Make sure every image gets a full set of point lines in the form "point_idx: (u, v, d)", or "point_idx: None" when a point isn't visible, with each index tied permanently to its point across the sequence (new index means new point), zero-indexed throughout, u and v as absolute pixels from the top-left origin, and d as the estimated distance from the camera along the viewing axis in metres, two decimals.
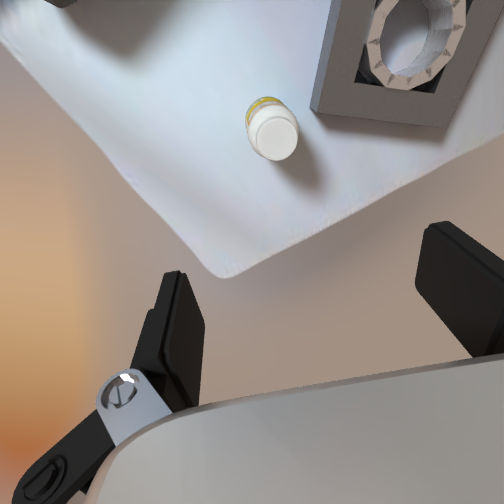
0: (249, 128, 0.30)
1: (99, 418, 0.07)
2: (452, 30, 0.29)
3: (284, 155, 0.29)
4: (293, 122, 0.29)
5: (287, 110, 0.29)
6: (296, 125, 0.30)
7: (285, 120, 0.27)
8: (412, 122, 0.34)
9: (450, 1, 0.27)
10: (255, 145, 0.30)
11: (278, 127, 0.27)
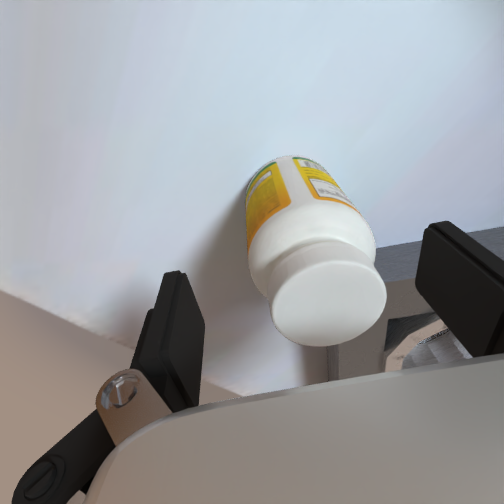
0: (314, 205, 0.11)
1: (99, 418, 0.07)
2: None
3: (293, 333, 0.10)
4: None
5: None
6: None
7: (382, 309, 0.10)
8: None
9: None
10: (279, 237, 0.11)
11: (364, 301, 0.10)
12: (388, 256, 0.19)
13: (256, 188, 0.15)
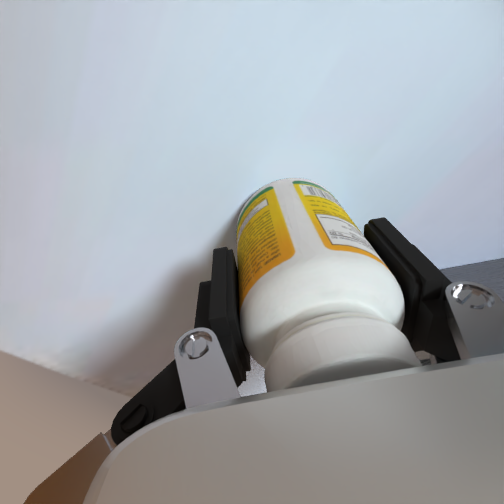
0: (326, 259, 0.08)
1: (175, 370, 0.08)
2: None
3: None
4: None
5: None
6: None
7: None
8: None
9: None
10: (280, 303, 0.08)
11: None
12: None
13: (249, 221, 0.12)
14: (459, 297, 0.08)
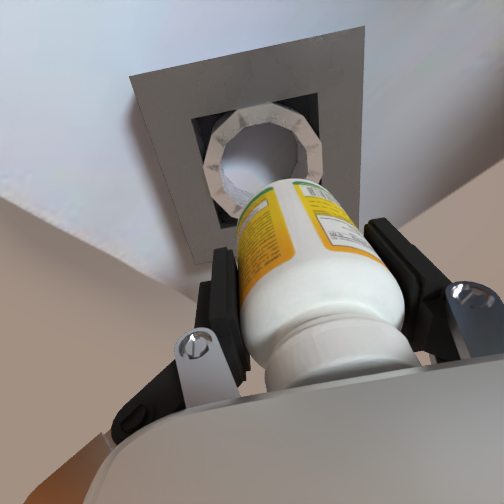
0: (326, 260, 0.08)
1: (175, 370, 0.08)
2: None
3: None
4: None
5: None
6: None
7: None
8: (183, 224, 0.26)
9: None
10: (281, 304, 0.08)
11: None
12: None
13: (249, 221, 0.12)
14: (459, 297, 0.08)
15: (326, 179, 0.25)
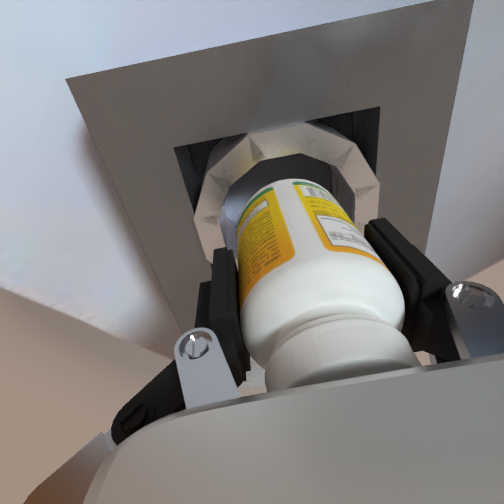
0: (326, 261, 0.08)
1: (175, 370, 0.08)
2: None
3: None
4: None
5: None
6: None
7: None
8: (167, 292, 0.18)
9: None
10: (281, 304, 0.08)
11: None
12: None
13: (249, 222, 0.12)
14: (459, 297, 0.08)
15: None
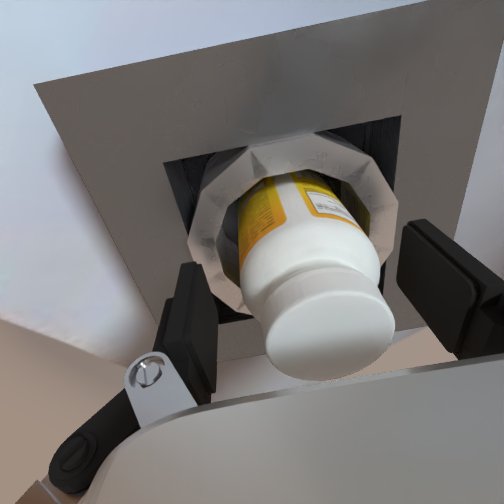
0: (312, 224, 0.10)
1: (126, 398, 0.08)
2: None
3: (290, 368, 0.09)
4: None
5: None
6: None
7: (389, 341, 0.09)
8: (158, 320, 0.16)
9: None
10: (274, 260, 0.10)
11: (370, 333, 0.09)
12: None
13: (248, 200, 0.14)
14: None
15: (395, 254, 0.15)
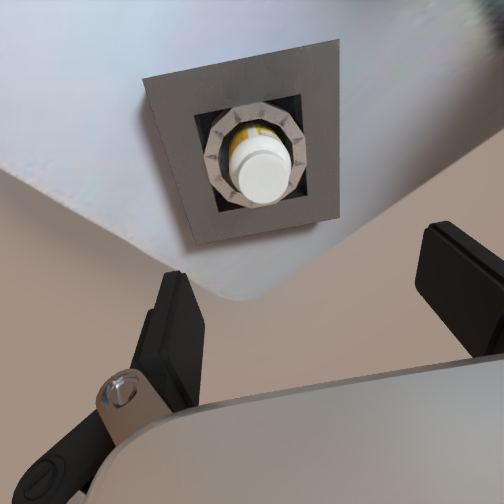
0: (258, 137, 0.23)
1: (99, 418, 0.07)
2: None
3: (249, 194, 0.23)
4: None
5: (289, 175, 0.25)
6: None
7: (287, 181, 0.23)
8: (186, 207, 0.30)
9: None
10: (242, 152, 0.23)
11: (278, 175, 0.22)
12: None
13: (234, 138, 0.27)
14: None
15: (310, 169, 0.28)
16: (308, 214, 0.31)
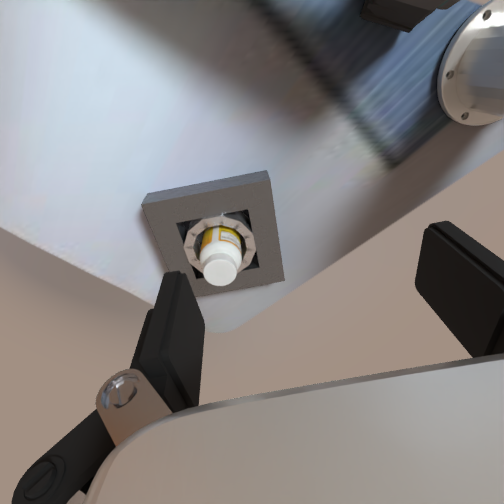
0: (217, 242, 0.35)
1: (99, 418, 0.07)
2: None
3: (211, 281, 0.35)
4: None
5: (240, 263, 0.37)
6: None
7: (236, 273, 0.35)
8: None
9: (243, 258, 0.40)
10: (207, 252, 0.35)
11: (229, 270, 0.34)
12: (176, 190, 0.37)
13: (205, 232, 0.39)
14: None
15: (259, 251, 0.41)
16: (261, 279, 0.43)
